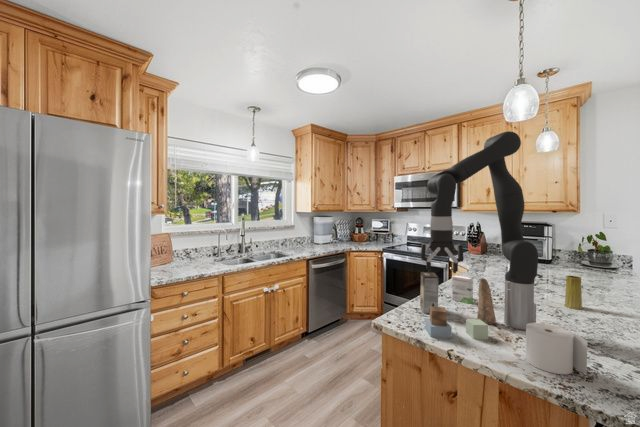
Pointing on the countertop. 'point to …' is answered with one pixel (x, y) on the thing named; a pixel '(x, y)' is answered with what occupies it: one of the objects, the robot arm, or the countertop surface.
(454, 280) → the ink box
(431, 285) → the coffee box
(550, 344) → the toilet tissue
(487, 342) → the countertop surface
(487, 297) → the tan long rounded piece
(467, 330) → the sage cube
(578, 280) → the vase
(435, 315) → the walnut cube
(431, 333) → the base block
